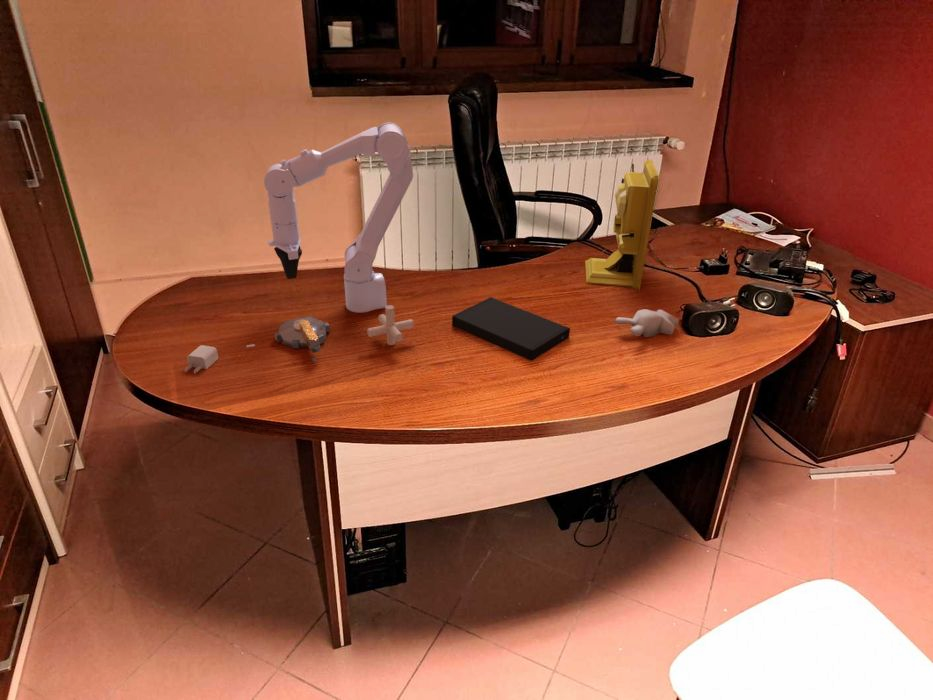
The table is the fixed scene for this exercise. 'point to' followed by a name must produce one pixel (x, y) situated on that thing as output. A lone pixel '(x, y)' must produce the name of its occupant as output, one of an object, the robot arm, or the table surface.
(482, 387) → the table surface
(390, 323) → the pipe connector
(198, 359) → the usb wall charger
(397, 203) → the robot arm
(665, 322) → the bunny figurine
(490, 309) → the external hard drive
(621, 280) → the vintage telephone
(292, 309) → the table surface
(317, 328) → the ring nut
